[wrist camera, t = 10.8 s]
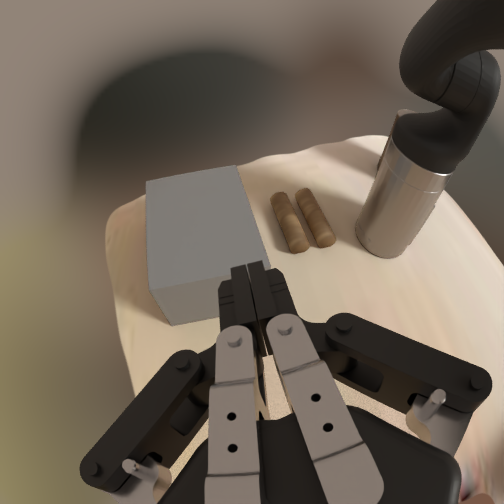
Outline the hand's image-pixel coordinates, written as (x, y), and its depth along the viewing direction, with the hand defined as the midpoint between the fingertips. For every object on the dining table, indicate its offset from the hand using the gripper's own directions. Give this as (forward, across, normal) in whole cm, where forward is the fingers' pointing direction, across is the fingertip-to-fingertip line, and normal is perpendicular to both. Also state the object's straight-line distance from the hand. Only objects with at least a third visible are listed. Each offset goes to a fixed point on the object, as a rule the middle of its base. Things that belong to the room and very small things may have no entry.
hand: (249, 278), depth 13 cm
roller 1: (+26, -6, +12) cm, 29 cm away
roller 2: (+27, -11, +12) cm, 31 cm away
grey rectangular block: (+22, +6, +14) cm, 27 cm away
